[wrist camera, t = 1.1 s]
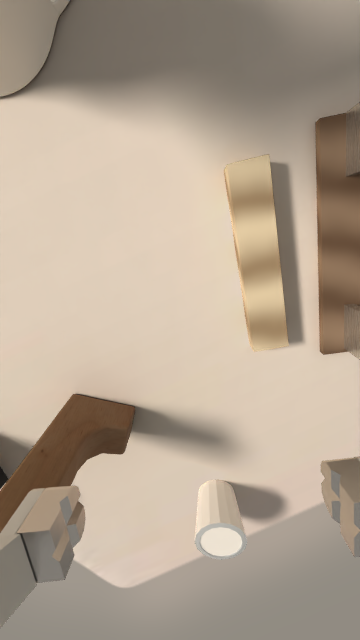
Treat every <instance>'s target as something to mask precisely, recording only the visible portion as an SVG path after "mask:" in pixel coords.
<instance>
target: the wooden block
mask: <svg viewBox="0 0 360 640" xmlns="http://www.w3.org/2000/svg"><path fill="white" fill-rule="evenodd" d="M134 413H135V407H133V406H129V405H124V404H119V403H114V402H110V401H105V400H100V399H96V398H91V397H86V396H81V395H77V394H73V395H72V396H71V397H70V399H69V400H68V401H67V403H66V404H65V405H64V407H63V408H62V409H61V411H60V412H59V413H58V415H57V416H56V417H55V419H54V420H53V421H52V423H51V424H50V425H49V427H48V428H47V429H46V431H45V432H44V433H43V435H42V436H41V437H40V439H39V440H38V441H37V443H36V444H35V445H34V447H33V448H32V449H31V451H30V452H29V453H28V455H27V456H26V457H25V459H24V460H23V461H22V463H21V464H20V465H19V467H18V468H17V469H16V471H15V472H14V473H13V475H12V476H11V477H10V479H9V480H8V481H7V483H6V484H5V485H4V487H3V488H2V489H1V491H0V533H1V531H2V530H3V529H4V527H5V526H6V524H7V523H8V521H9V520H10V519H11V517H12V516H13V514H14V513H15V511H16V510H17V508H18V507H19V506H20V504H21V503H22V501H23V500H24V498H25V497H26V496H27V494H28V493H29V492H30V491H31V490H33V489H40V488H49V487H63V486H71V484H72V482H73V480H74V478H75V475H76V473H77V471H78V470H79V469H80V467H81V466H82V465H83V464H84V463H85V462H86V460H87V459H90V458H92V457H94V456H97V455H99V454H101V453H107V454H123V453H124V452H125V449H126V446H127V443H128V439H129V436H130V433H131V429H132V424H133V419H134Z"/></svg>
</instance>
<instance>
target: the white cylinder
mask: <svg viewBox="0 0 360 640" xmlns="http://www.w3.org/2000/svg"><path fill="white" fill-rule="evenodd" d="M195 544H196V547H197V549H198V550H199V551H200V552H201V553H202V554H203V555H206V556H208V557H210V558H214V559H221V560H222V559H229V558H233V557H235V556H237V555H239V554H241V553H242V551H243V550H244V549H245V548H246V544H247V538H246V534H245V531H244V527H243V523H242V519H241V516H240V512H239V508H238V504H237V500H236V497H235V493H234V489H233V487H232V486H231V485H230V484H229V483H227V482H225V481H223V480H210V481H207V482H206V483H204V484H202V486H201V487H200V488H199V493H198V504H197V518H196V532H195Z"/></svg>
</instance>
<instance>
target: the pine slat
mask: <svg viewBox="0 0 360 640" xmlns="http://www.w3.org/2000/svg"><path fill="white" fill-rule="evenodd" d="M224 175H225V182H226V189H227V195H228V202H229V209H230V216H231V222H232V229H233V236H234V243H235V250H236V256H237V263H238V270H239V277H240V283H241V290H242V297H243V304H244V310H245V317H246V324H247V331H248V337H249V344H250V346H251V347H252V349H253V351H254V352H257V351H262V350H268V349H274V348H280V347H286V346H289V345H288V335H287V325H286V315H285V306H284V296H283V286H282V276H281V266H280V257H279V247H278V237H277V227H276V217H275V208H274V198H273V188H272V178H271V168H270V159H269V154H267V155H263V156H259V157H255V158H251V159H247V160H243V161H239V162H235V163H231V164H227V165H226V167H225V169H224Z"/></svg>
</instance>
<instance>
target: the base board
mask: <svg viewBox="0 0 360 640" xmlns="http://www.w3.org/2000/svg"><path fill="white" fill-rule="evenodd" d="M316 171H317V223H318V275H319V327H320V352H321V353H322V354H323V355H325V354H333V353H340V352H348V351H347V350H346V349H344V305H347V304H356V305H358V306H360V173H359V174H356V175H351V176H346V113H343V114H338V115H334V116H329V117H324V118H320V119H319V120H318V121H317V122H316Z"/></svg>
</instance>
